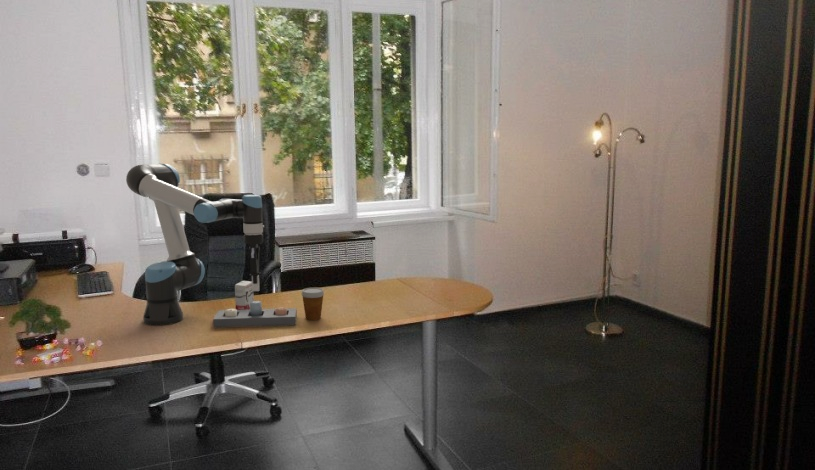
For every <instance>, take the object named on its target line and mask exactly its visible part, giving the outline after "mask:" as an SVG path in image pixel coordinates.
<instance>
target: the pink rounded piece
mask: <svg viewBox="0 0 815 470" xmlns="http://www.w3.org/2000/svg"><path fill="white" fill-rule="evenodd" d="M274 309H275V315H287V308H286V307H280V306H279V307H276V308H274Z"/></svg>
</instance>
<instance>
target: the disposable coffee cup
mask: <svg viewBox="0 0 815 470" xmlns="http://www.w3.org/2000/svg"><path fill="white" fill-rule="evenodd" d="M324 295H325V291H324V289H323V288H320V287H307V288H303V289H302V290H301V296H302V301H303V310H304V315H305V317H304V318H305V319H306V320H309V321H317V320H320V319H321V317H322V312H323V311H322V310H323V309H322V308H323V301H324V300H323V299H324Z"/></svg>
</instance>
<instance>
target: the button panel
mask: <svg viewBox="0 0 815 470" xmlns="http://www.w3.org/2000/svg"><path fill="white" fill-rule="evenodd" d="M275 309H276V308H262V315H259V316H252V315H250V309H249V310H237V316H229V317H225V310H226V309H223V310H217V312H216V314H215V315H214V317H213V319H212V325H213V328H214V329H216V328H243V327H250V328H251V327H273V326H274V327H276V326H296V321H297V309H298V308H296V307H292V308H290V307H289V308H287V315H275Z"/></svg>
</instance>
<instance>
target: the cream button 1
mask: <svg viewBox="0 0 815 470" xmlns="http://www.w3.org/2000/svg"><path fill="white" fill-rule="evenodd" d="M224 310H225V317H229V316H237V310H236V308H226V309H224Z"/></svg>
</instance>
